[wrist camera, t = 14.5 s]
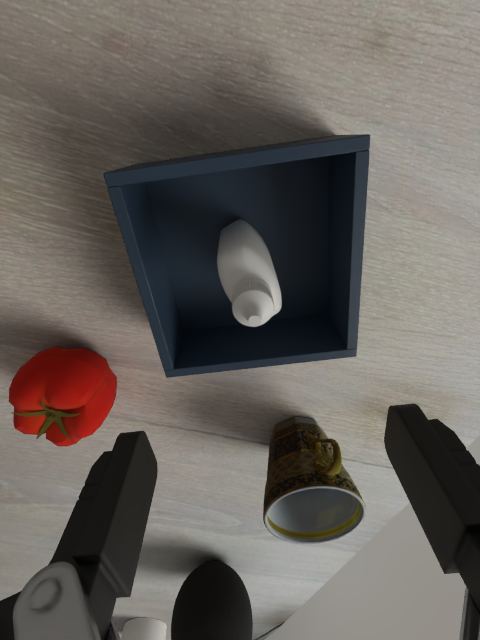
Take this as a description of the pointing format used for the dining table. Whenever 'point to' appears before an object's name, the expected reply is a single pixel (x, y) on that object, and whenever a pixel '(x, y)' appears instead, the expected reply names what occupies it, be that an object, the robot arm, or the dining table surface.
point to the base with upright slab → (144, 629)
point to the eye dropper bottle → (248, 274)
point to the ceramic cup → (308, 486)
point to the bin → (278, 234)
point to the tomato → (62, 394)
